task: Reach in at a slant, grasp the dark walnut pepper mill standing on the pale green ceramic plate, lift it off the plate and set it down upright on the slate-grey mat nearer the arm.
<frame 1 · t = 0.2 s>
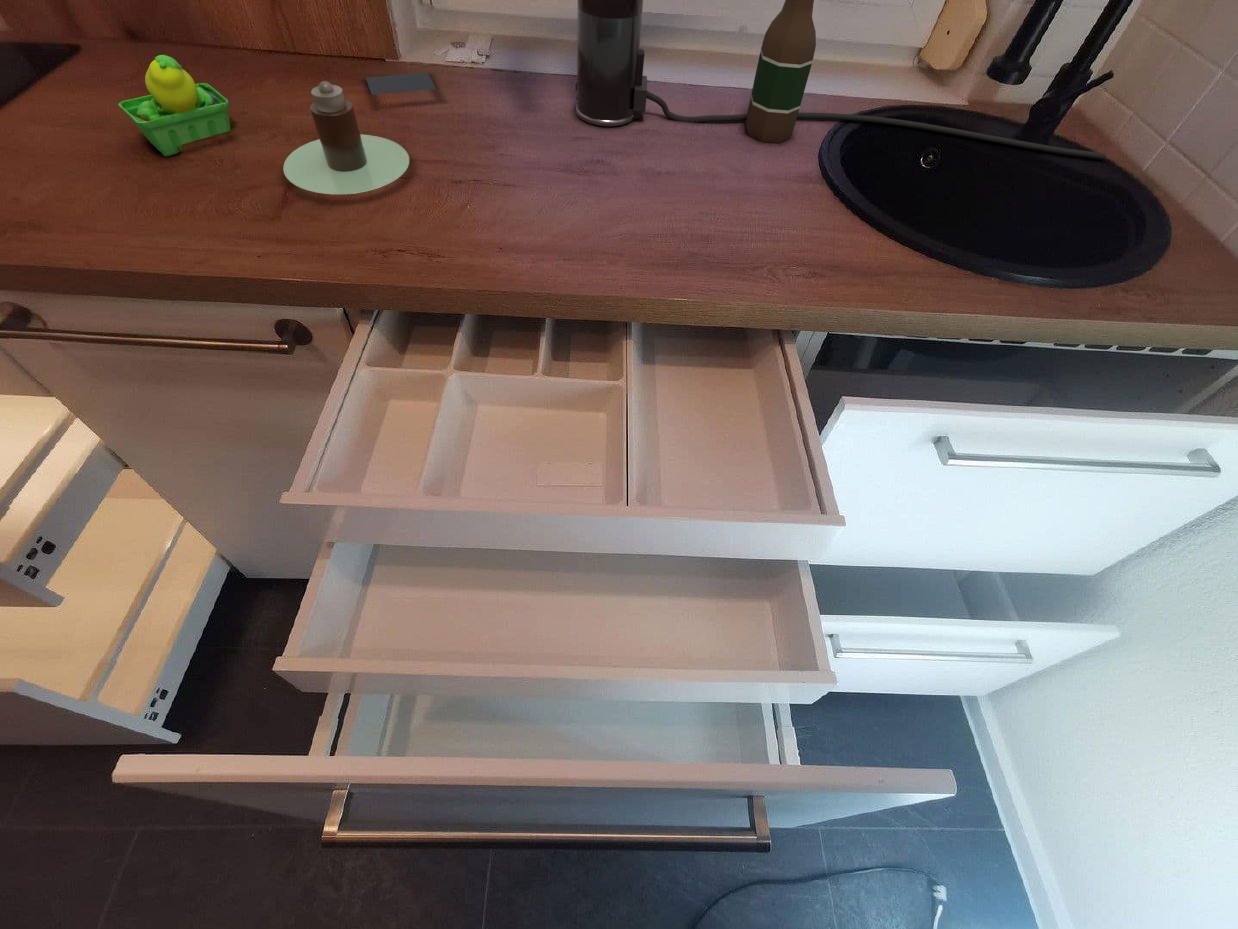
beer bottle: (767, 133, 98), on the countertop
plate: (350, 171, 83), on the countertop
mat: (403, 91, 99), on the countertop
fruit basket: (194, 143, 85), on the countertop
pepper mill: (347, 162, 82), point 1 cm above the countertop, touching plate
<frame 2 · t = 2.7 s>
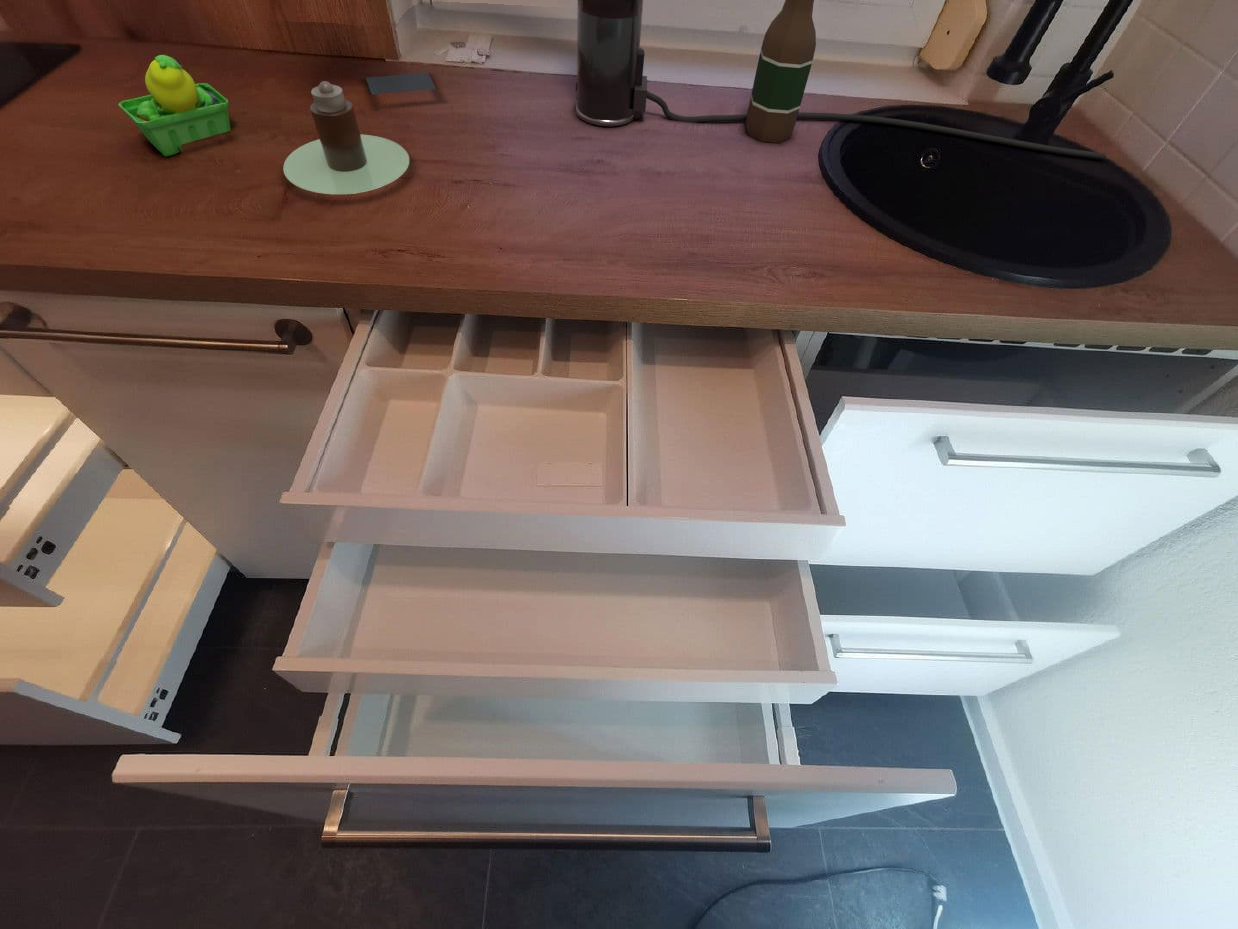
nothing on the countertop moved.
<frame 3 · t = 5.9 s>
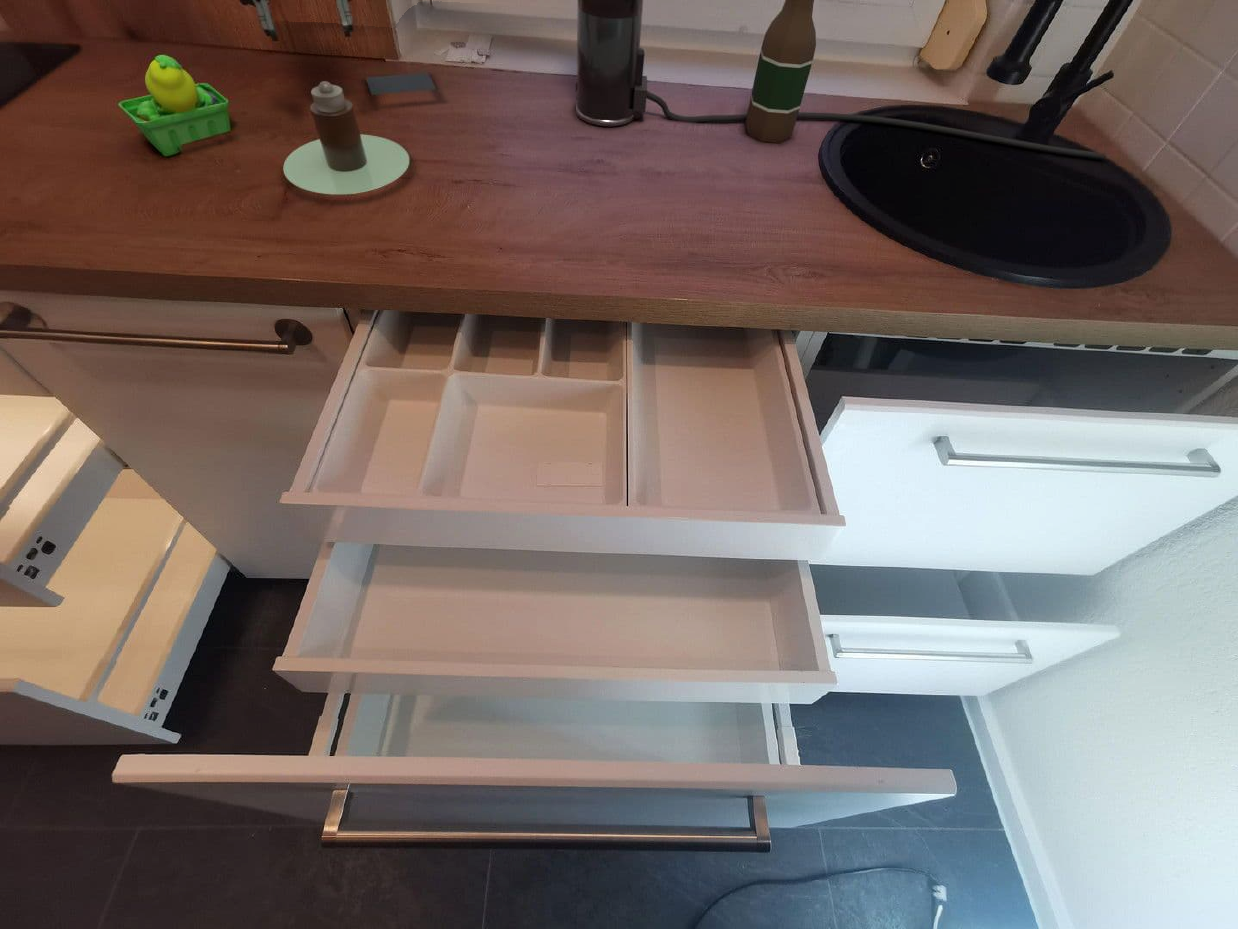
hand: (311, 35, 77), 13 cm above the countertop, tool tilted 45°, fingers open, 8 cm apart
nothing on the countertop moved.
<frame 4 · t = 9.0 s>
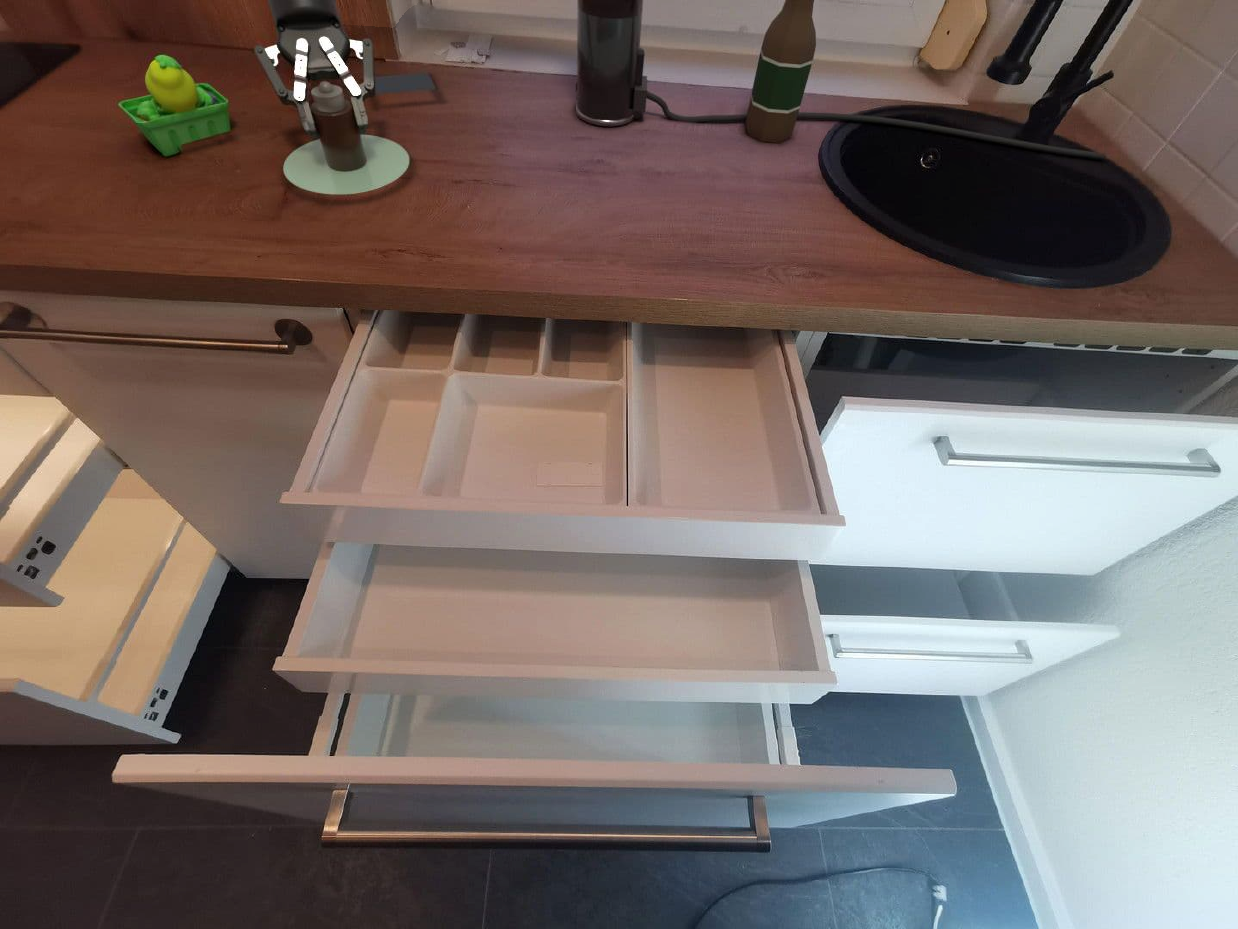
hand: (339, 133, 78), 6 cm above the countertop, tool tilted 45°, fingers closed on pepper mill, 5 cm apart
pepper mill: (347, 162, 82), point 1 cm above the countertop, touching gripper, plate
everything else where it was.
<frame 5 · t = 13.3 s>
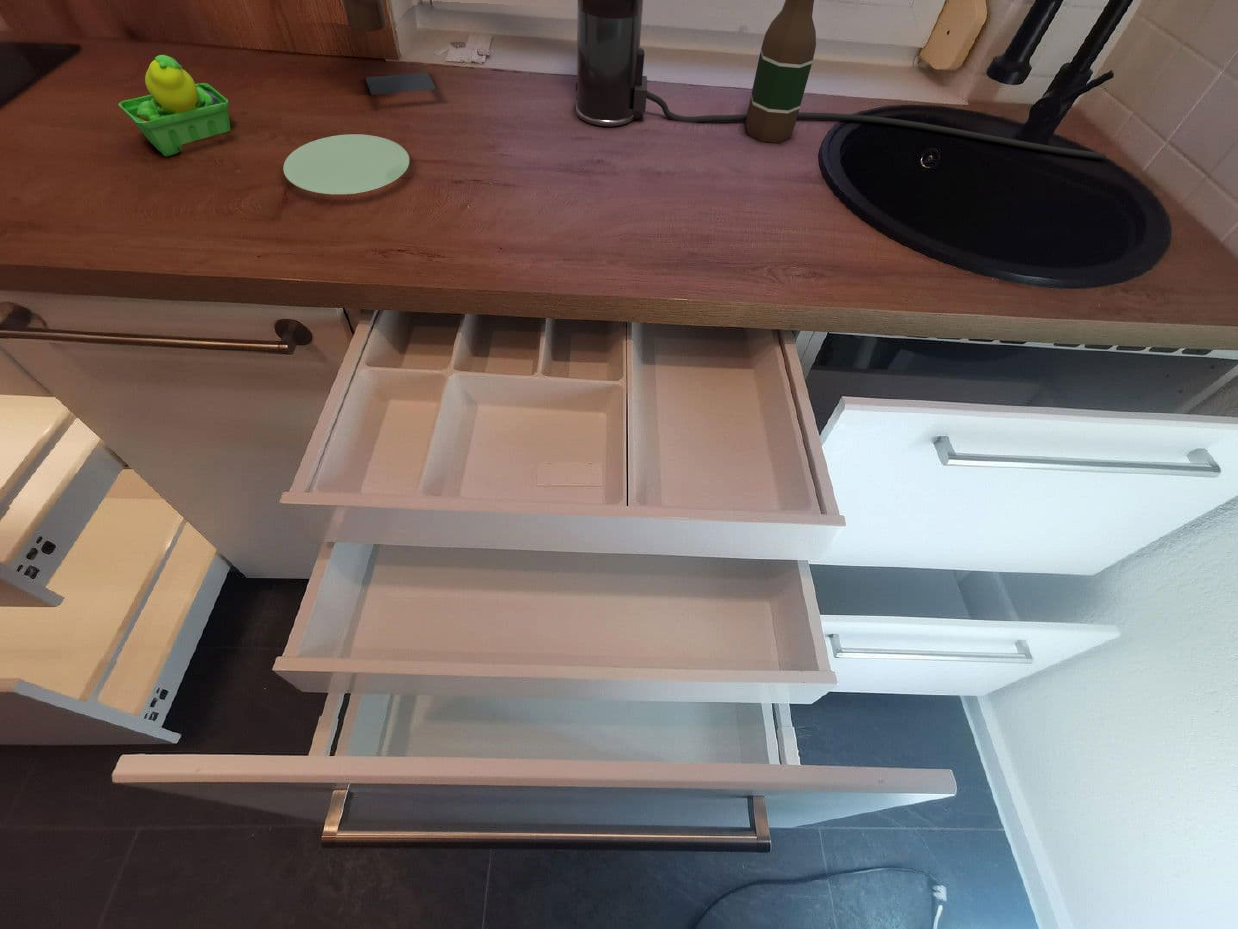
pepper mill: (367, 24, 85), point 12 cm above the countertop, touching gripper
everything else where it was.
when the fingers open (5 cm above the countertop, at t = 17.8 s): pepper mill stays where it is, resting on mat.
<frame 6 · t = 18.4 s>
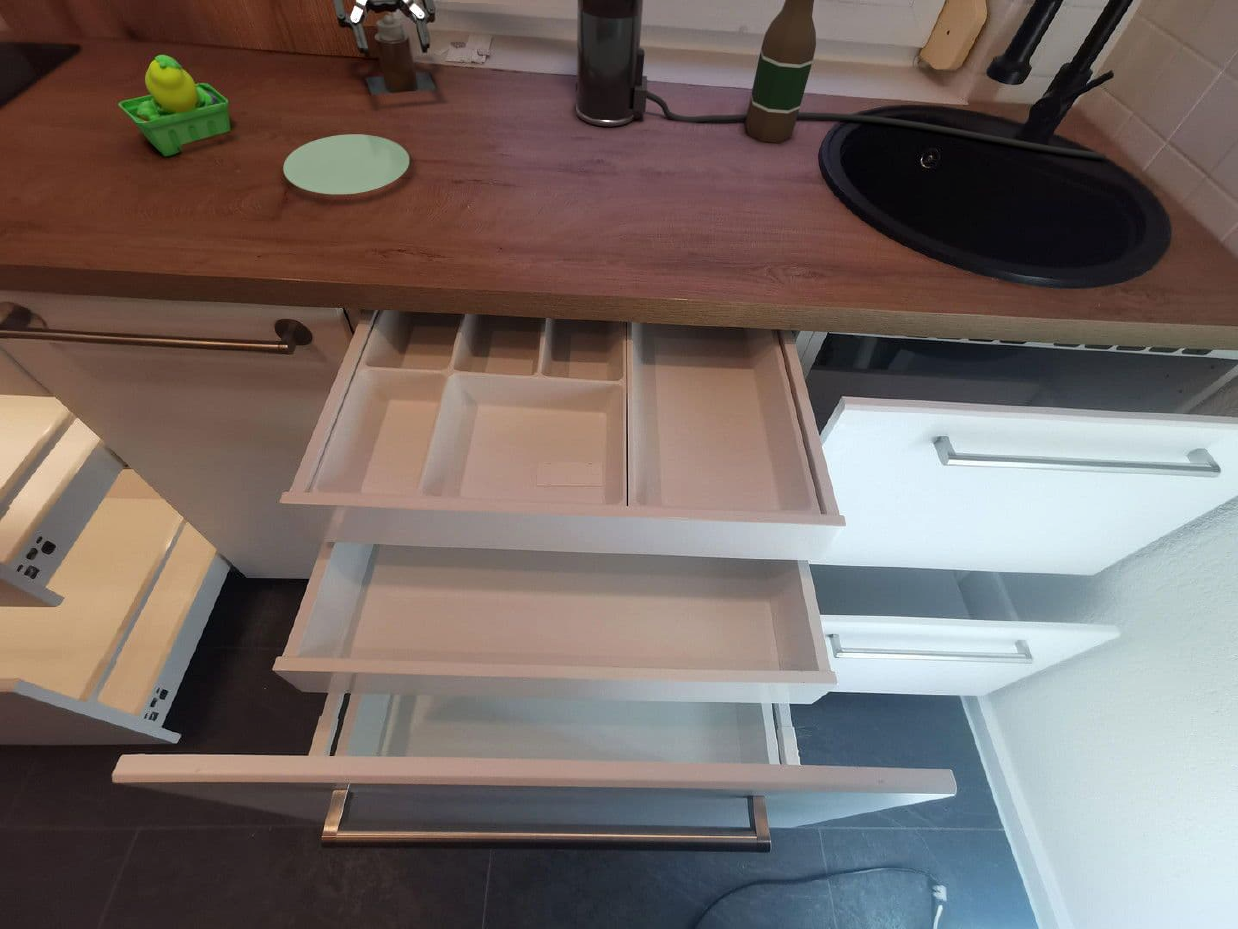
hand: (396, 52, 93), 6 cm above the countertop, tool tilted 45°, fingers open, 8 cm apart
pepper mill: (401, 87, 98), point 1 cm above the countertop, touching mat
everything else where it was.
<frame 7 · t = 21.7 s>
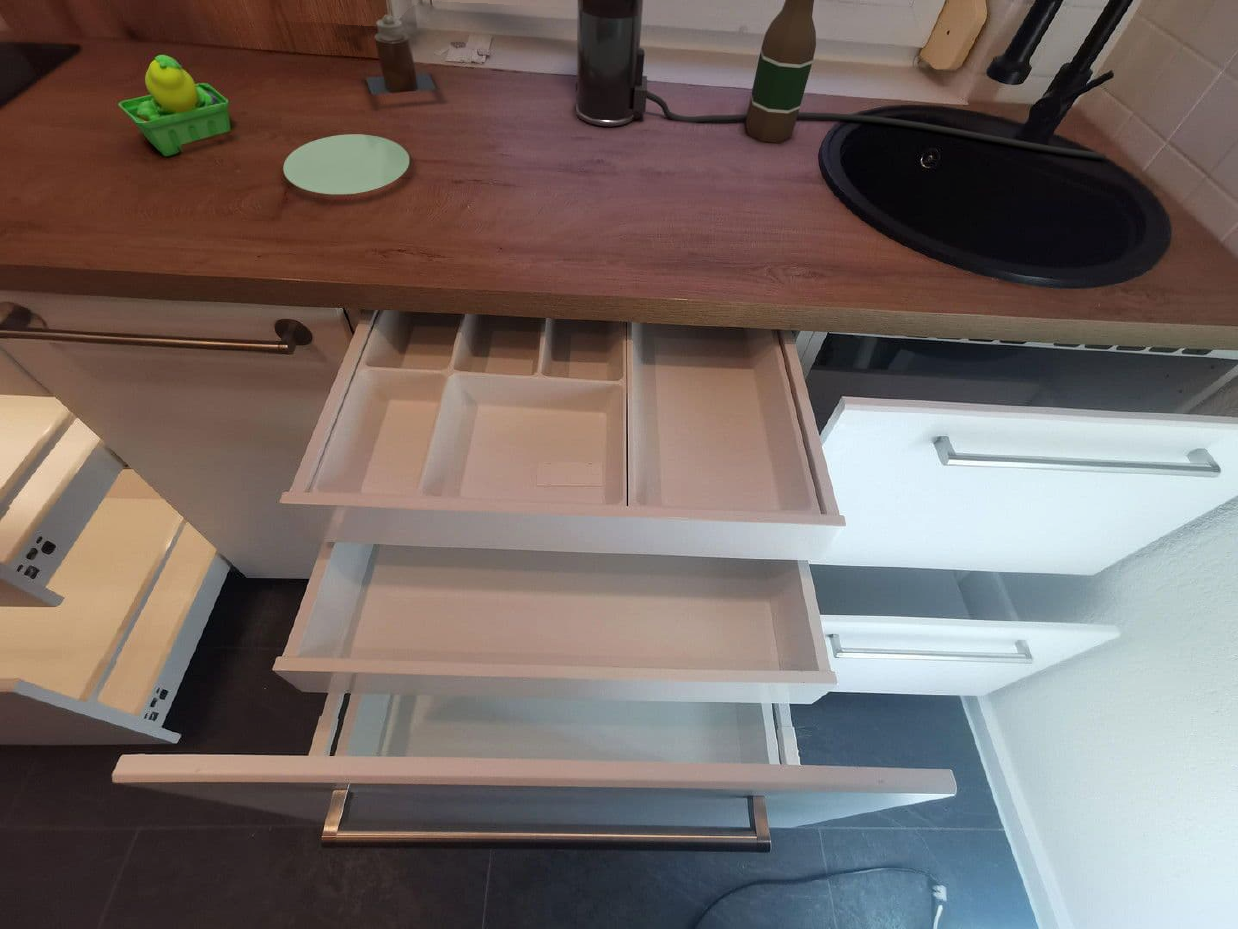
nothing on the countertop moved.
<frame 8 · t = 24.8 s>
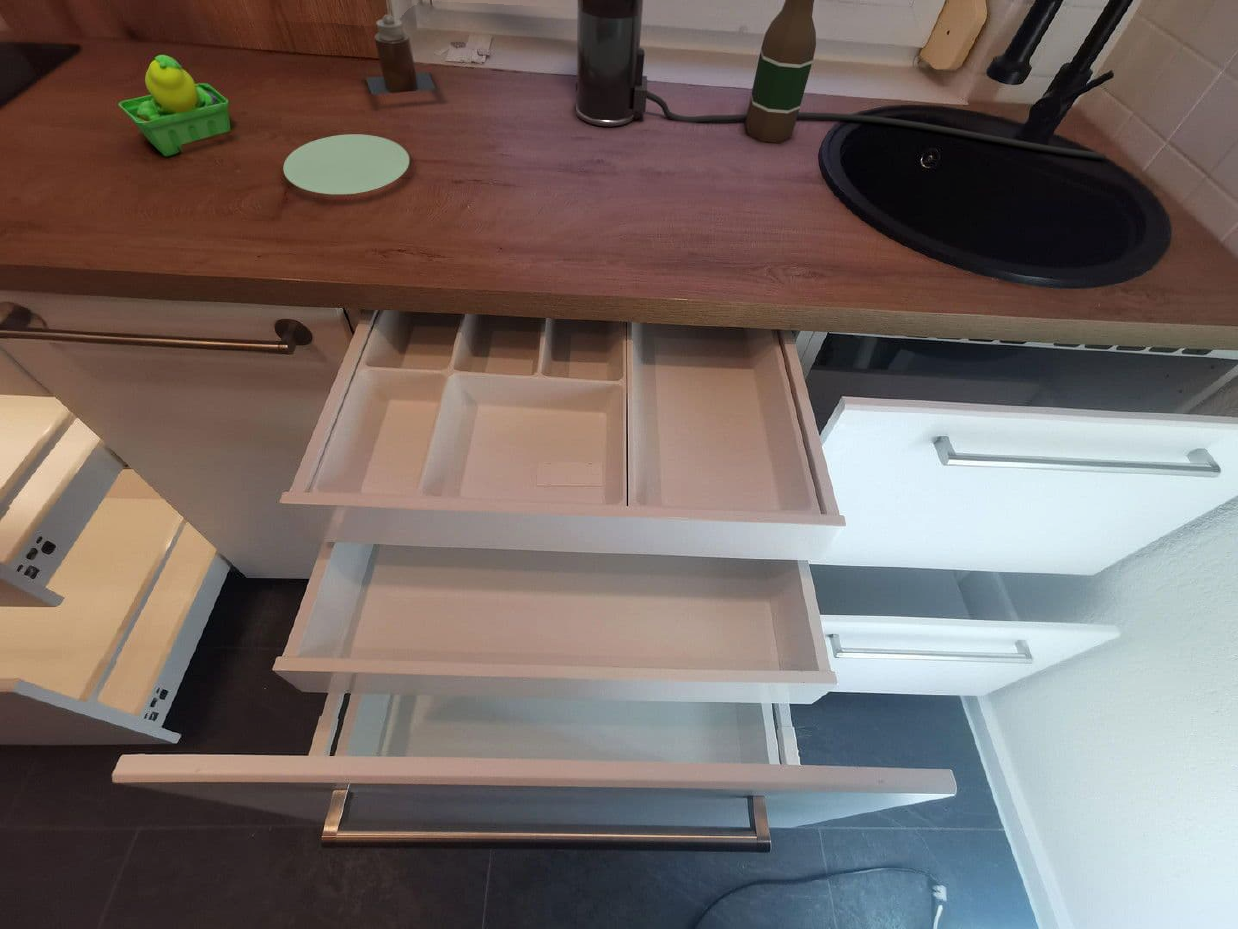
nothing on the countertop moved.
at the end: pepper mill inside the target area on the mat (0.2 cm from its centre), point 0.6 cm above the mat's base; pepper mill tilted 0°; pepper mill touching mat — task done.
